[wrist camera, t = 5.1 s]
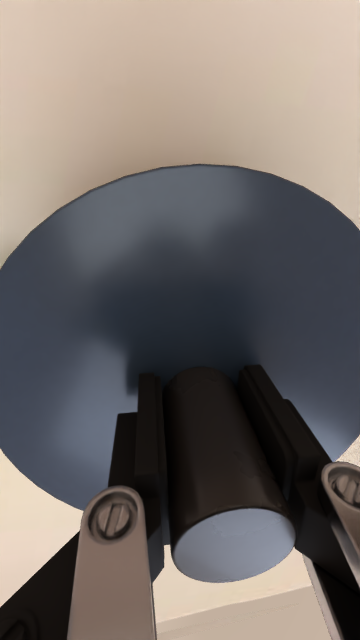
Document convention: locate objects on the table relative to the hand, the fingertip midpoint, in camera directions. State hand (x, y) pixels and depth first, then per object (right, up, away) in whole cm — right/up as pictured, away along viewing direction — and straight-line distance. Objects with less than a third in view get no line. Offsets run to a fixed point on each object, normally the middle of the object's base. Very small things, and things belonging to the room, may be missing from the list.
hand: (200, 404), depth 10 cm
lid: (0, 0, +1) cm, 1 cm away
